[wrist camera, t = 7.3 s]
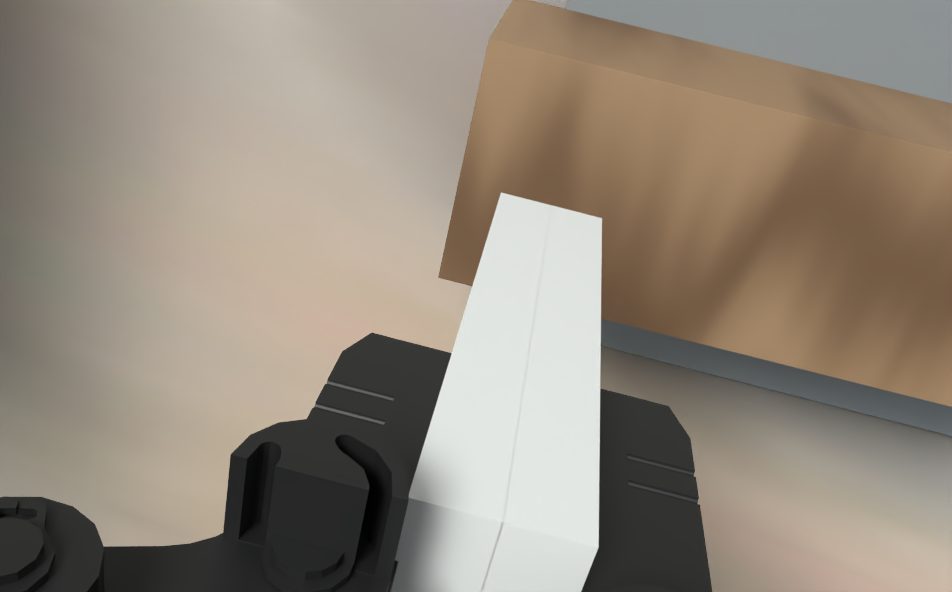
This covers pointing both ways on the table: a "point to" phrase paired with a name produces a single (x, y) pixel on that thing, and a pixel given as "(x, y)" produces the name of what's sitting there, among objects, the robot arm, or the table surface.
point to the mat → (827, 50)
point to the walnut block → (725, 194)
